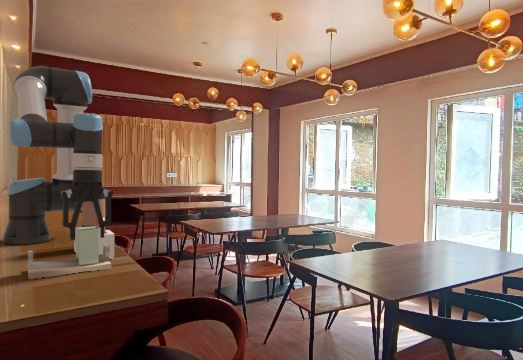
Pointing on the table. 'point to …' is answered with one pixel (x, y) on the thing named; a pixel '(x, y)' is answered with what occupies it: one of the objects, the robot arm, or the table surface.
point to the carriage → (88, 245)
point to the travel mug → (92, 212)
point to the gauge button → (98, 223)
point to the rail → (65, 265)
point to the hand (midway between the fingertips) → (87, 250)
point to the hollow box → (107, 240)
